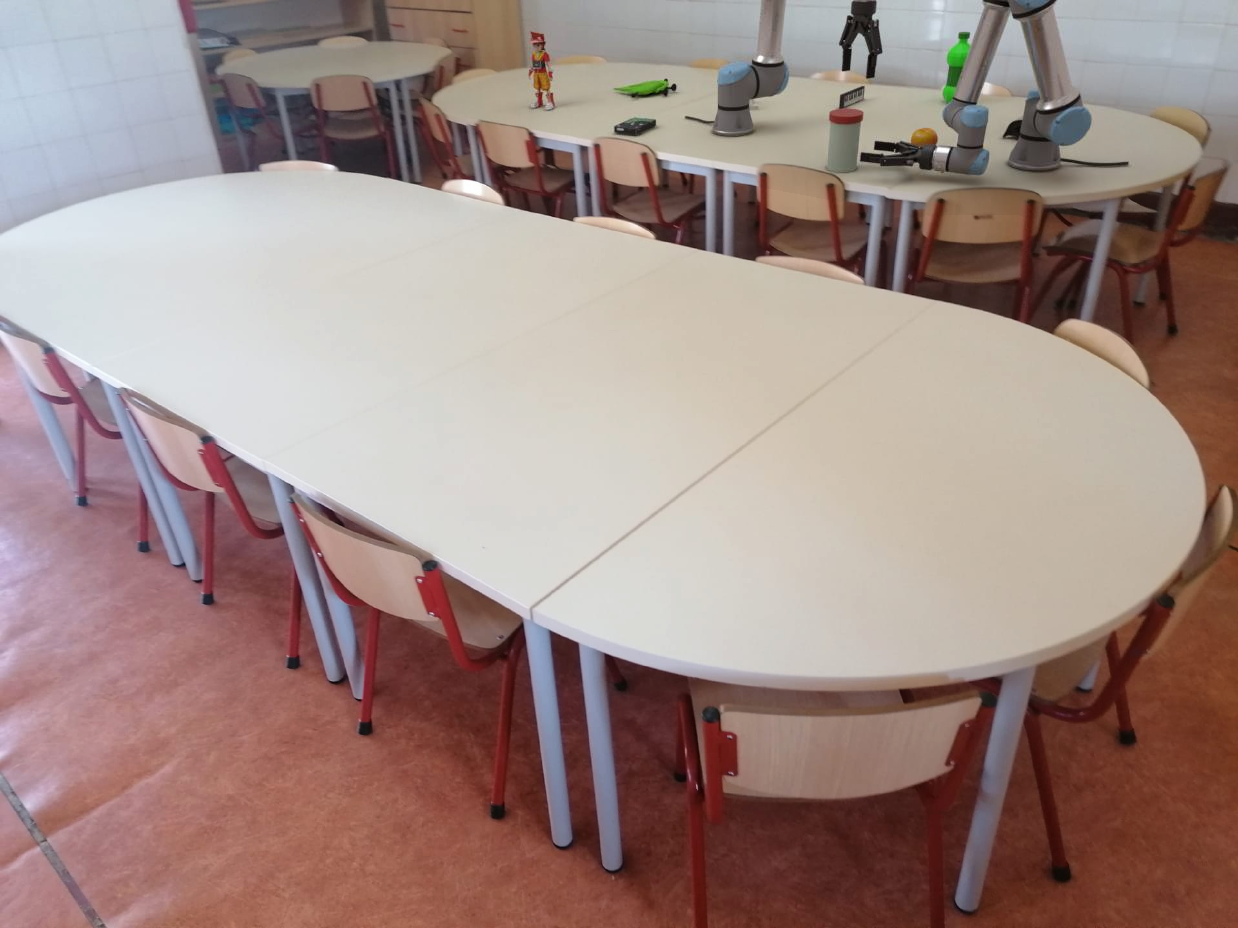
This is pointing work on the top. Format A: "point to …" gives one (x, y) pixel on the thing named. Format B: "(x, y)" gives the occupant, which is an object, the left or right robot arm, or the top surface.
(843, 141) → the jar
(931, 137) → the fruit
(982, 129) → the right robot arm
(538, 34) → the toy
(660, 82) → the toy
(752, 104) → the anatomical model
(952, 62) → the plastic bottle
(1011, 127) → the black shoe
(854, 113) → the lid
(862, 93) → the midi keyboard
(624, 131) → the disk drive
